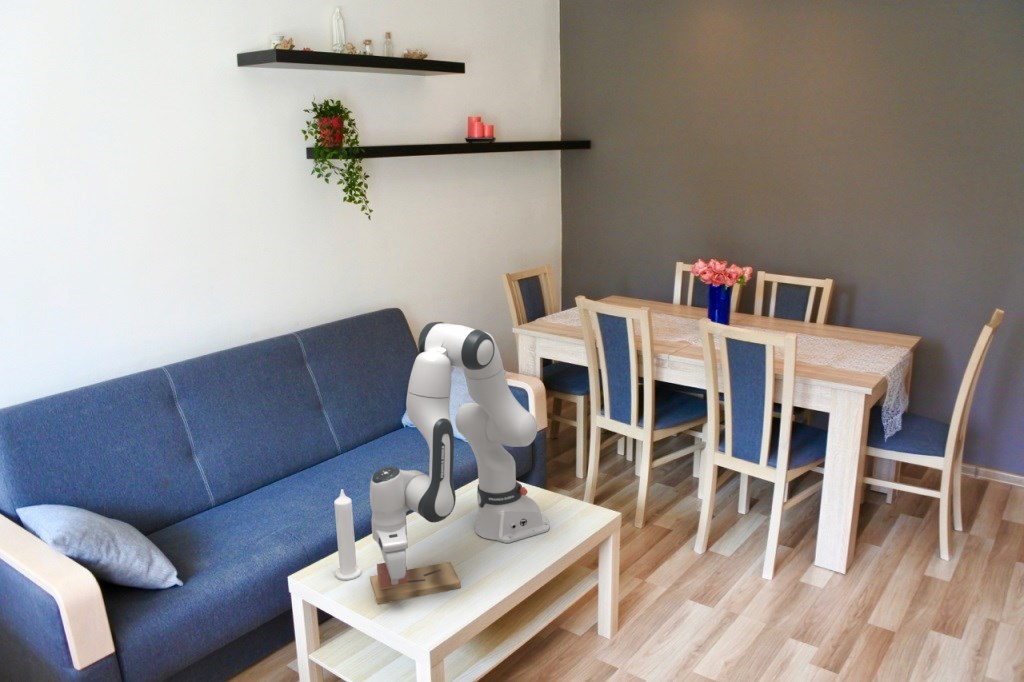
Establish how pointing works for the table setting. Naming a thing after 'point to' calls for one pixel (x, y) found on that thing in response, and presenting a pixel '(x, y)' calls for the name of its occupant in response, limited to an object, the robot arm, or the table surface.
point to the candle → (345, 539)
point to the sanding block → (388, 578)
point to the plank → (419, 583)
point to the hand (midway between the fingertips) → (392, 577)
